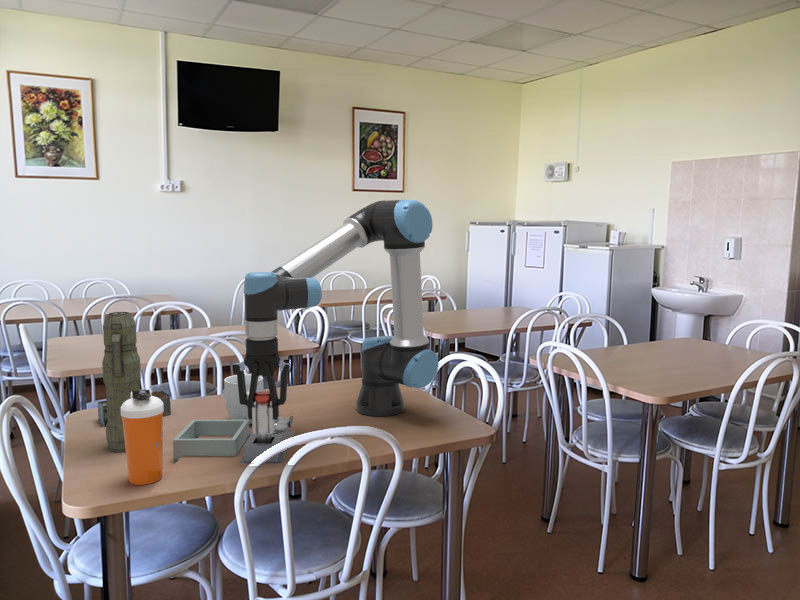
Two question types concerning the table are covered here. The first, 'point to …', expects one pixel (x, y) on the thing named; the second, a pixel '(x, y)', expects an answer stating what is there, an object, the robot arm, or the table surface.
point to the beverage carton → (161, 395)
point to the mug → (232, 397)
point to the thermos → (119, 372)
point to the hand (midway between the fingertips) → (263, 431)
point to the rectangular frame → (192, 446)
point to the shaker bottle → (143, 437)
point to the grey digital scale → (279, 435)
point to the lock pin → (262, 417)
